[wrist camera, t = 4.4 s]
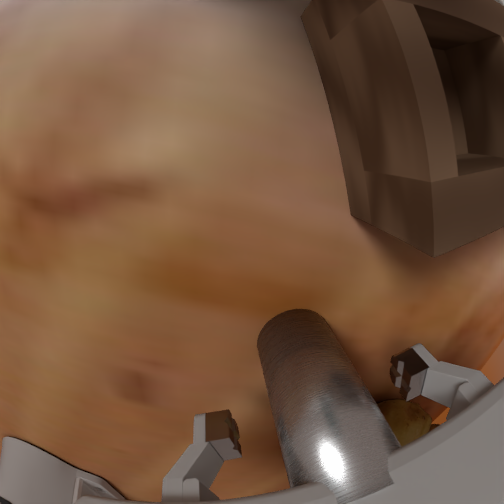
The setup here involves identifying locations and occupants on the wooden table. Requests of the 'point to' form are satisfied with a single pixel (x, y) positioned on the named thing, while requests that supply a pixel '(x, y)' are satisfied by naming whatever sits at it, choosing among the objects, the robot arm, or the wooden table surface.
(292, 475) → the steel pin
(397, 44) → the socket block
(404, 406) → the bread roll
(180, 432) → the wooden table surface
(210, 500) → the robot arm
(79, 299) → the wooden table surface
